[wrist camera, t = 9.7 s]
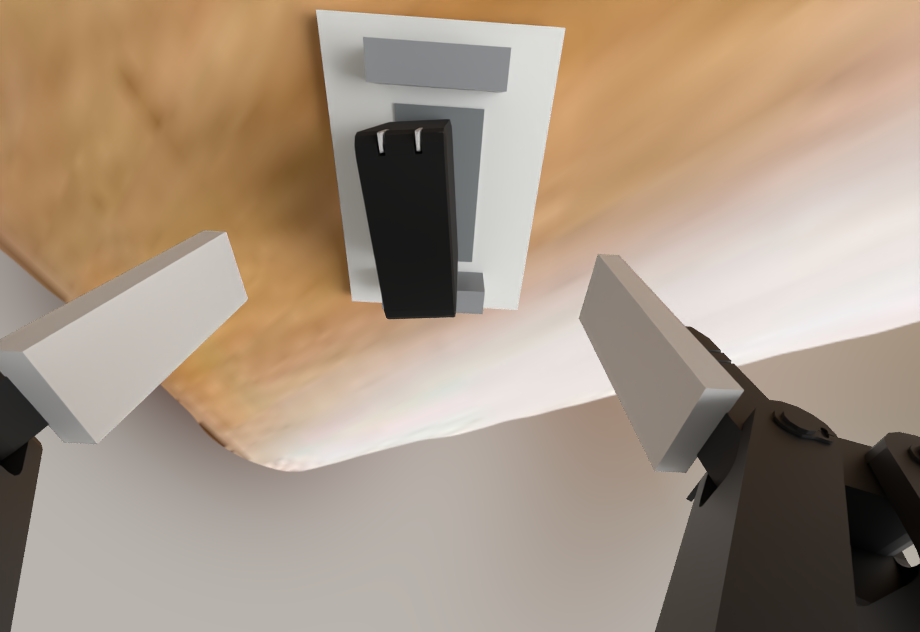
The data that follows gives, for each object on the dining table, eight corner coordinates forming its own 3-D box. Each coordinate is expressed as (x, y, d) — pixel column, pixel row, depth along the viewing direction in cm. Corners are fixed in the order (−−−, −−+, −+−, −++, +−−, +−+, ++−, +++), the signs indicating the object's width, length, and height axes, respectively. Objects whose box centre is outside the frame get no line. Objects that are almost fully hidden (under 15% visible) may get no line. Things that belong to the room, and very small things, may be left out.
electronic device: (408, 258, 29) (385, 325, 20) (390, 121, 24) (349, 133, 15) (458, 256, 29) (456, 323, 20) (451, 118, 23) (445, 129, 15)
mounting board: (324, 14, 22) (290, -6, 18) (559, 31, 22) (582, 16, 18) (356, 293, 32) (340, 322, 28) (515, 301, 33) (522, 331, 29)
